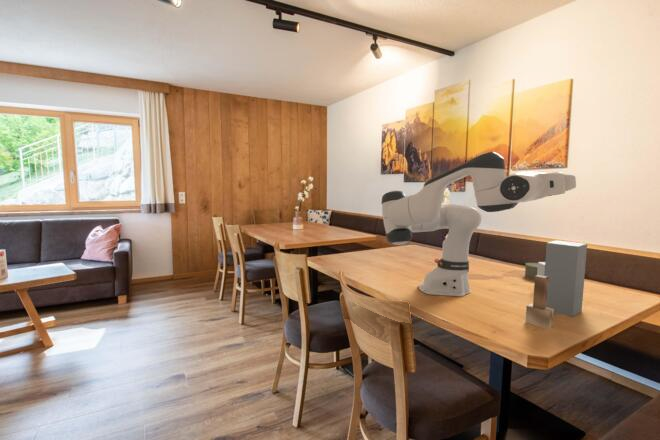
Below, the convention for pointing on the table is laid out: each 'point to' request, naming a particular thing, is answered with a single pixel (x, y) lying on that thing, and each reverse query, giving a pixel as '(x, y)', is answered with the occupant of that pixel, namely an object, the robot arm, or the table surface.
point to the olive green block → (531, 270)
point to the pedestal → (565, 276)
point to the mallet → (540, 305)
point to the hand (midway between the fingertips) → (543, 185)
